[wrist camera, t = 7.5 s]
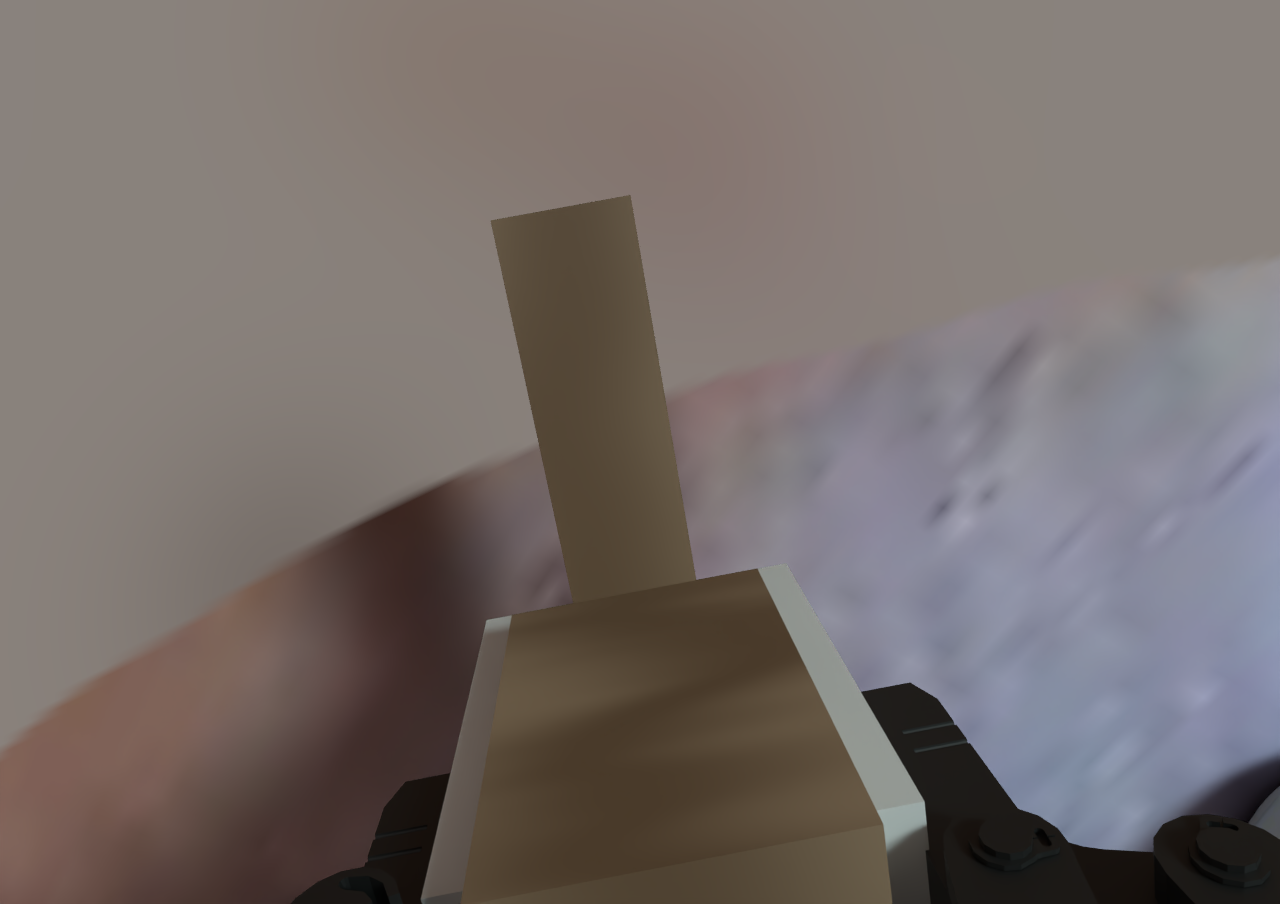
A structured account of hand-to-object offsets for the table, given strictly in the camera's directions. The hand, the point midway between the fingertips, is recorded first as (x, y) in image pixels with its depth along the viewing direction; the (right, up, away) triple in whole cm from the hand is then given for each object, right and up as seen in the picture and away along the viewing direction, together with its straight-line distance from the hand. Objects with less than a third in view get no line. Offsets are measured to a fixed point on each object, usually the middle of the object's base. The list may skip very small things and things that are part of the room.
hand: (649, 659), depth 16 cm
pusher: (0, 0, +1) cm, 2 cm away
